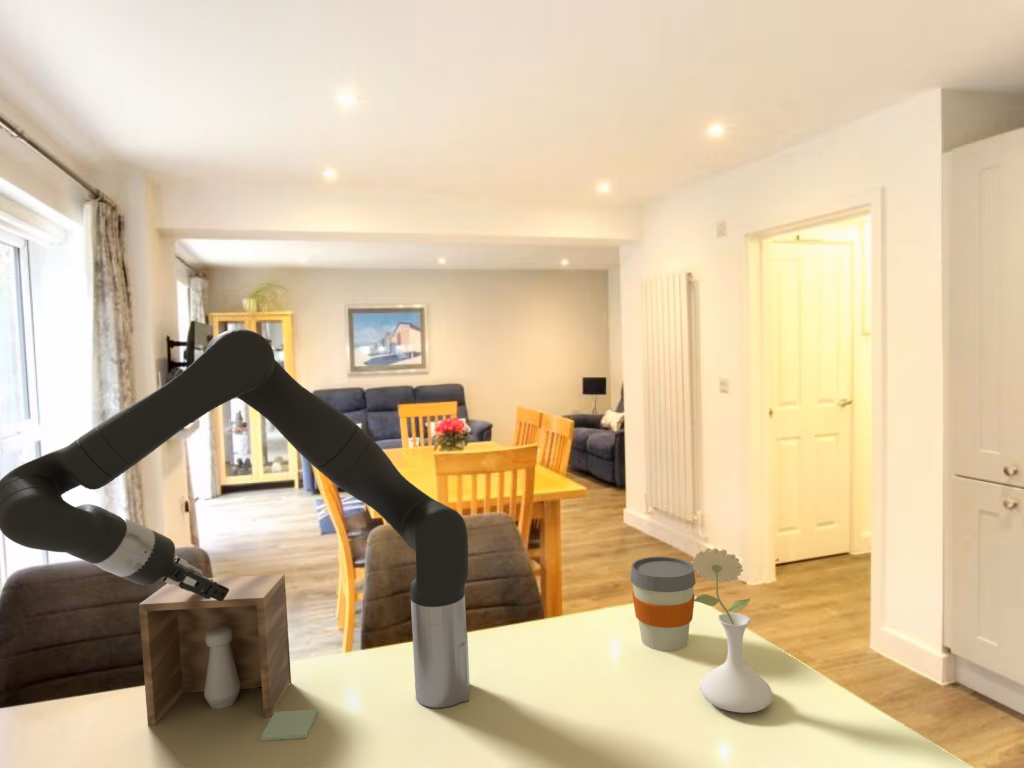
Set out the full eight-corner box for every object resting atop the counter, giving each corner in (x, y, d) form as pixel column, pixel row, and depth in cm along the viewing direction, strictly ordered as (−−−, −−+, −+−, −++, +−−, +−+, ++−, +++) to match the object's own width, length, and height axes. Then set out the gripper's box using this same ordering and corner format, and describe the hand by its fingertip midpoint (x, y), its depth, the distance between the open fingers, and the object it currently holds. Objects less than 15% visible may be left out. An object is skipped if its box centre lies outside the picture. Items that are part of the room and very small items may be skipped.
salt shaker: (227, 713, 108) (222, 637, 107) (197, 711, 109) (192, 636, 109) (248, 694, 114) (243, 623, 113) (219, 692, 115) (214, 621, 114)
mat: (317, 712, 107) (317, 709, 107) (306, 738, 100) (305, 734, 100) (275, 715, 107) (275, 711, 107) (260, 740, 100) (260, 737, 100)
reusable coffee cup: (708, 637, 129) (706, 563, 128) (678, 662, 119) (676, 582, 118) (651, 621, 137) (649, 552, 136) (620, 643, 128) (618, 569, 127)
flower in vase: (784, 697, 106) (781, 548, 105) (756, 729, 98) (753, 568, 96) (709, 672, 115) (706, 535, 114) (678, 700, 107) (674, 551, 105)
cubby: (291, 682, 117) (284, 574, 116) (271, 717, 106) (263, 597, 105) (179, 689, 117) (171, 580, 116) (147, 724, 106) (138, 604, 105)
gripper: (174, 543, 93) (249, 579, 105) (124, 514, 101) (200, 550, 113) (139, 592, 90) (221, 623, 102) (91, 558, 98) (172, 591, 110)
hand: (209, 585), depth 108 cm, fingers open, 8 cm apart
